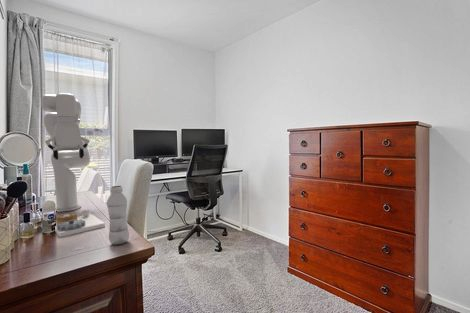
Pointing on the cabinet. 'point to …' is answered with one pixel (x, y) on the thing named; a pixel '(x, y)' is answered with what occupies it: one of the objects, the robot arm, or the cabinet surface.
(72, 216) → the ochre gear
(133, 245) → the cabinet surface
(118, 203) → the plastic bottle
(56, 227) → the gear board
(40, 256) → the cabinet surface
